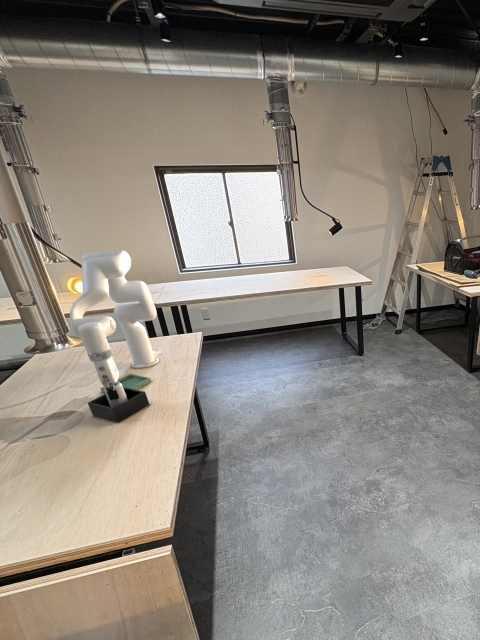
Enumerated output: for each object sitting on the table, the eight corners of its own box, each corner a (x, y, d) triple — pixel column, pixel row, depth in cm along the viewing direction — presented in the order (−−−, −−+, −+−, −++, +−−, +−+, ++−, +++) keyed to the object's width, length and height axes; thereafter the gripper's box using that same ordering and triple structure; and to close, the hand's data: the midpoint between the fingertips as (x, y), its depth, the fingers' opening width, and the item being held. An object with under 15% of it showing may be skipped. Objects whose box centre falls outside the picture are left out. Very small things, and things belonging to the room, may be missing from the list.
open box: (125, 399, 178) (120, 386, 175) (149, 404, 173) (145, 391, 170) (93, 416, 166) (87, 402, 163) (118, 423, 161) (113, 409, 158)
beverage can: (122, 414, 166) (112, 388, 160) (109, 413, 167) (98, 387, 161) (134, 406, 171) (124, 380, 165) (120, 405, 172) (111, 379, 167)
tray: (131, 377, 196) (129, 373, 196) (151, 381, 192) (150, 377, 191) (101, 392, 184) (100, 388, 183) (122, 396, 180) (120, 392, 179)
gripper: (107, 361, 151) (123, 402, 160) (114, 345, 166) (129, 384, 174) (84, 365, 149) (101, 407, 157) (93, 348, 163) (108, 388, 172)
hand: (115, 394), depth 166 cm, fingers closed on beverage can, 6 cm apart
